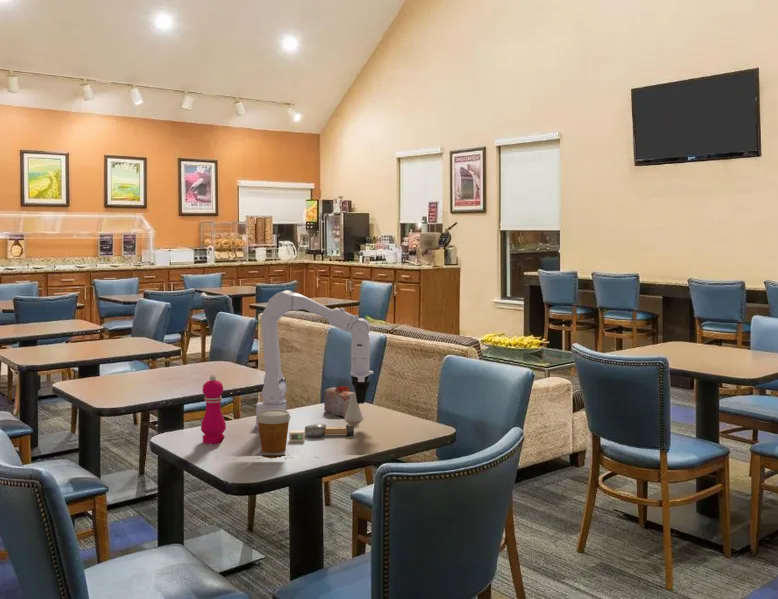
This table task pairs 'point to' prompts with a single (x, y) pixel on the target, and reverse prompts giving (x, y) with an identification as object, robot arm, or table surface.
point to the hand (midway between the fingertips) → (360, 400)
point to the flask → (353, 410)
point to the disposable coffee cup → (273, 431)
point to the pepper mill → (213, 413)
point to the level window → (297, 436)
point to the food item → (337, 400)
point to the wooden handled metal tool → (328, 430)
